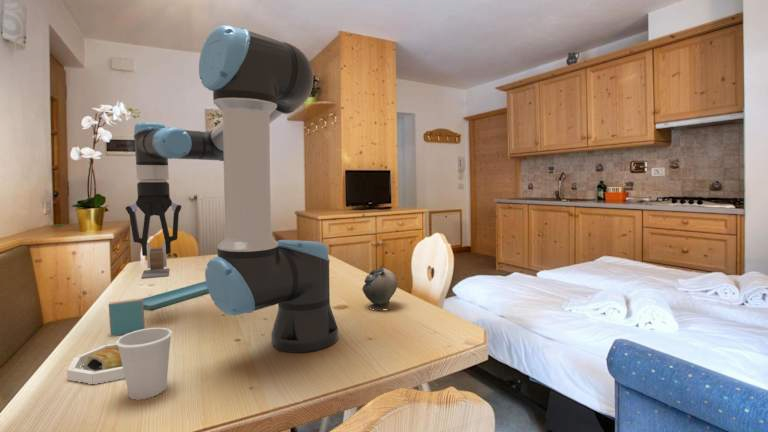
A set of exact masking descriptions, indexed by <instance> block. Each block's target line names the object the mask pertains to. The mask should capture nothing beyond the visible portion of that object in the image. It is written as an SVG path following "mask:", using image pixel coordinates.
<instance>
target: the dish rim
mask: <svg viewBox="0 0 768 432" xmlns="http://www.w3.org/2000/svg"><path fill="white" fill-rule="evenodd" d="M112 347H117V345H116V342H115V343H109V344H105V345H101V346H98V347H96V348H94V349H92V350H91V349H90V350H89V351H87V352H85V353H82V354H79V355H77V356H75V357H74V358H73V359H72V361H71V363H70V364H69V367H68V368H67V370H66V371H67V380H68V379H71V380H75V381H80V382H85V383H88V384H87V385H90V384H95V385H99V384H98V383H100V384H104V382H105V383H109V381H110V382H114V381H120V380H125V379H124V378H125V375H124V370H123V366H122V367H117V368H112V369H107V370H101V371H96V372H95V371H89V370H84V369H83V368H80V366H81V365H83V364H85V361H86V360H87V358H88V357H89V356H91V355H92V354H93V353H95V352H99V351H101V350H102V349H105V348H112ZM119 379H120V380H119ZM80 382H79V383H80ZM85 383H84V384H85Z"/></svg>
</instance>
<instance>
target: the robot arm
mask: <svg viewBox="0 0 768 432" xmlns="http://www.w3.org/2000/svg"><path fill="white" fill-rule="evenodd" d="M198 75H199V79H200V80H201V84H202V85H203V87H204V88H206V89H207V90H208V91H212V98H213V105H215V106H216V107H217V108H218V109H219V110H220V111H221V114H222V115H221V116H222V121H220V123H218V124H217V125H216V126H214V128H212V129H211V130H210V131H202V130H201V131H200V130H190V129H189V130H187V129H182V128H179V127H172V126H166V125H165V124H163V123H159V122H149V121H147V122H145V121H144V122H142V121H141V122H137V123H135V125H134V131H133V132H134V134H133V138H134V150H135V167H136V168H135V171H136V173H135V174H136V180H138V181H139V182H137V183H136V184H137V185H136V189H137V191H136V192H137V199H136V201H135V203H133V204H131V205H127V206H126V207H125V210H126V212H127V213H128V215H129V221H130V227H131V234H132V239H133V242H134V243H138V244H141V253H142V256H143V257H145V256H146V260H147V269H150V251H151V249H152V247H151V246H152V245H151V242H148V241H149V240H148V239H149V233H150V232H149V231H150V224H151V217H153V216H157V217H158V218H159V220H160V224H161V225H160V226H161V229H162V233H163V239H164V241H163V242H162V243H161V245H162V246H161V247H162V249H163V264H164V268H165V267H166V268H167V265H168V262H167V259H168V257H167V255H170V254H171V252H172V249H171V247H172V246H171V243H172V242H174V241H177V240H178V235H179V234H178V233H179V232H178V231H179V216H180V215H179V213H180V212H181V210H182V205H181V204H177V203H175V202H173V201H172V199H171V197H170V196H171V195H170V183H169V182H168V180H169V179H170V177H169V176H170V175H169V160H172V159H174V160H175V159H176V160H202V161H219V162H223V188H224V190H223V192H224V194H223V196H224V224H225V225H224V228H225V230H224V231H225V233H224V234H225V236H224V239H222V240H221V242H220V243H218V244H217V256H215V257H213V258H212V259H210V260H208V262H207V264H206V267H205V272H204V275H205V281H206V284H207V288H208V291H209V293H208V294H209V296H210V298H211V300H212V301H213V303H214V305H215V306H216V307H217V309H218V310H220V312H222V313H223V314H225V315H228V316H239V315H243V314H251V313H253V312H255V311H257V310H258V311H260V310H262V309H266V308H268V307H272V306H275V305H278V310H277V313H276V316H275V319H274V324H273V326H272V330H271V334H270V335H271V345H272V346H273V348H274V349H277V350H279V351H282V352H286V353H287V352H288V353H308V352H314V351H320V350H322V349H326V348H328V347H330V346H333V345H334V344H335V343H336V342H337V341H338V339H339V327H338V324H337V320H336V318H335V316H334V314H333V311H332V307H331V301H330V300H331V299H330V296H331V295H330V294H331V293H330V259H329V247H328V246H327V245H326V243H324V242H320V241H311V240H300V239H280V240H276V239H275V238H273V236H272V229H271V228H272V223H271V222H272V219H271V216H272V215H271V214H272V213H271V210H272V209H271V208H272V206H271V149H270V148H271V147H270V146H271V141H270V139H271V138H270V137H271V136H270V133H271V132H270V129H271V128H270V125H271V123H273V122H274V121H275V120H276V119H278V118H279V117H280V116H282V115H283V114H284V115H285V114H286V115H288V114H291V113H294V111H296V110H297V109H299V108H300V107H301V106H302V105H303V104H304V103H306V101H307V100H308V98H309V97H310V95H311V92H312V90H313V86H314V71H313V68H312V65H311V62H310V60H309V59H308V57H307V56H306V55H305V54H304V52H303V51H301V49H300V48H298V47H297V46H295V45H293V44H292V43H288V42H285V41H280V40H278V39H275V38H272V37H268V36H265V35H262V34H259V33H256V32H254V31H251V30H248V29H247V28H245V27H241V28H239V27H235V26H232V25H227V24H223V25H220V26H218V27H215V28H214V29H213V30H212V31H211V32H210V33H209V34H208V36H207V37H206V39H205V42H204V43H203V46H202V48H201V51H200V55H199V63H198ZM170 207H171V211H172V212H173V217H172V219H173V221H172V222H173V223H172V235H170V232H169V228H168V223H167V217H166V212H167V211H168V210H169V208H170ZM137 208H138V209H140V211H141V212H142V213H143V214H144V219H143V226H142V234H141V237H140V233H139V225H138V219H137V214H136V212H137V210H138V209H137Z"/></svg>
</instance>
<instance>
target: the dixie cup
mask: <svg viewBox="0 0 768 432" xmlns="http://www.w3.org/2000/svg"><path fill="white" fill-rule="evenodd" d="M172 335H173V331H172V330H170V329H169V328H167V327H149V328H145V329H142V330H137V331H134V332H131V333H128V334H123V335H120V337H119V338H118V339H117V340H116V341H115V343H116V345H117V346H118V348H119V353H120V357H121V362H122V366H123V370H124V375H125V379H124V380H125V382H126V383H125V384H126V387H127V391H128V396H129V398H130V399H131V400H134V399H136V400H135V401H141V399H143V400H147V399H146V398H148V399H151V398H150V397H152V398H154V397H153V396H155V395H157V396H159V395H160V394H159V393H161V392H162V391H164V390H165V389H167V385H168V384H167V383H168V373H169V359H170V350H171V349H170V347H171V346H170V345H171V336H172ZM165 391H166V390H165ZM165 391H164V392H165ZM162 393H163V392H162ZM162 393H161V394H162ZM158 394H159V395H158ZM155 397H156V396H155Z"/></svg>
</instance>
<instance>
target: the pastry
mask: <svg viewBox="0 0 768 432" xmlns="http://www.w3.org/2000/svg"><path fill="white" fill-rule="evenodd" d="M117 367H122V362H121V357H120V353H119V348H118V346H117V347H112V348H105V349H102V350H101V351H99V352H95V353H93V354H92V355H91V356H89V357H88V358H87V360H86V361H85V364H84V365H83V366H82V369H84V370H89V371H95V372H96V371H101V370H107V369H112V368H117Z"/></svg>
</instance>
